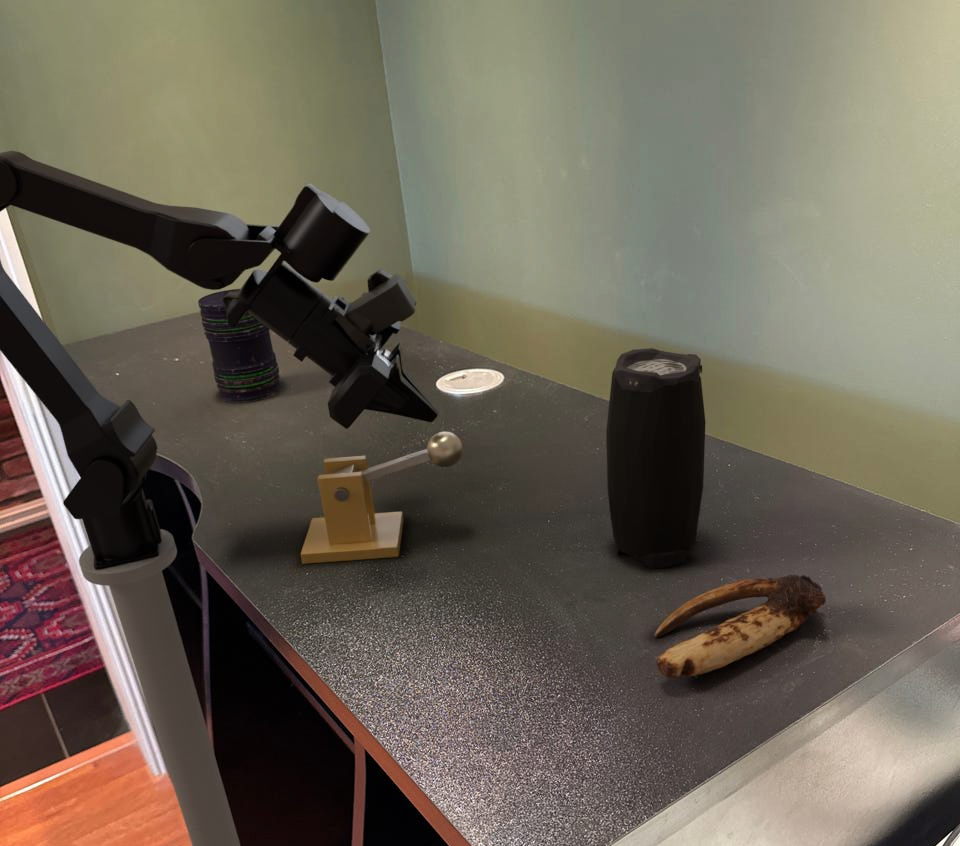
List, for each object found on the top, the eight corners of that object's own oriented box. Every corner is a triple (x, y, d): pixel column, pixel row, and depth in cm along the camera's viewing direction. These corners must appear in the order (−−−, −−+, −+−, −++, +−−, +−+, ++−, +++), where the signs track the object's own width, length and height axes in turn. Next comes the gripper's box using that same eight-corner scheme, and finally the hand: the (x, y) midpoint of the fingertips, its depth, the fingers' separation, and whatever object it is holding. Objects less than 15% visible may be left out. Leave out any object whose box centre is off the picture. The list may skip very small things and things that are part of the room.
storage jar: (289, 393, 141) (267, 276, 133) (226, 407, 138) (199, 288, 129) (273, 376, 149) (251, 264, 141) (213, 389, 146) (186, 276, 137)
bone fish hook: (760, 585, 85) (609, 654, 76) (762, 540, 83) (608, 606, 74) (845, 627, 77) (688, 708, 69) (850, 578, 75) (689, 656, 67)
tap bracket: (403, 520, 101) (393, 447, 97) (398, 557, 94) (387, 479, 90) (313, 527, 101) (300, 454, 97) (302, 564, 94) (286, 487, 90)
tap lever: (467, 452, 95) (455, 421, 93) (467, 466, 91) (455, 435, 90) (341, 493, 97) (327, 464, 95) (337, 509, 94) (322, 479, 92)
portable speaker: (715, 541, 91) (725, 352, 82) (666, 582, 85) (671, 384, 76) (641, 519, 97) (643, 339, 87) (590, 557, 91) (587, 367, 81)
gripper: (344, 274, 75) (489, 390, 80) (366, 231, 91) (486, 329, 96) (268, 374, 79) (410, 479, 84) (302, 316, 95) (420, 406, 100)
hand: (435, 417), depth 91 cm, fingers closed
